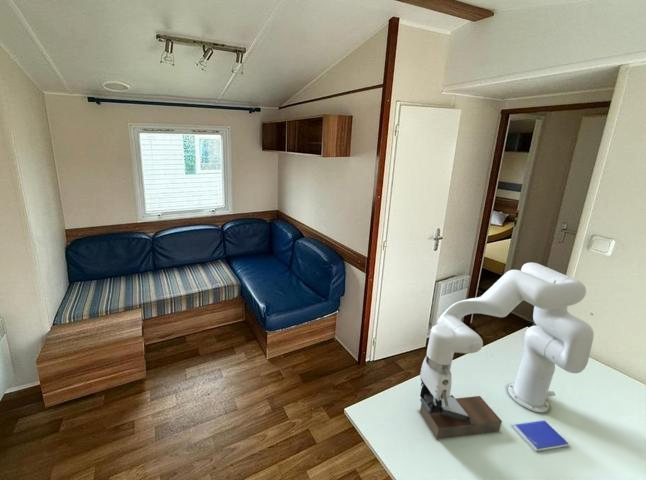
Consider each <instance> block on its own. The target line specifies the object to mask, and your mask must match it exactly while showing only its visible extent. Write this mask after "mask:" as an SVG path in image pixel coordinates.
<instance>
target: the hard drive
mask: <svg viewBox="0 0 646 480" xmlns="http://www.w3.org/2000/svg"><path fill="white" fill-rule="evenodd" d="M513 428H514V430H515V431H517V433H518V434H519V435H520V436H521V437H522V438H523V439H524V440H525V441H526V442H527V444H528V445H529V446H530V447H531V448H532V449H533V450H534V451H535V452H540V451H546V450H551V449H558V448H563V447H568V446H569V442H568V441H567V440H566V439H565V438H563V437H562V435H561V434H560V433H558V432H557V431H556V430H555V428H554V427H552V426H551V425H550V424H549V423H548V422H547V421H546V420H539V421H538V420H537V421H532V422H525V423H516V424H514V426H513Z"/></svg>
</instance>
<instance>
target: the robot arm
mask: <svg viewBox="0 0 646 480" xmlns="http://www.w3.org/2000/svg"><path fill="white" fill-rule="evenodd" d="M586 294H587V288H586V286H585V284H584V283H583V282H582V281H580V280H578V279H576V278H574V277H572V276H569V275H567V274H564V273H561V272H560V271H557V270H555V269H552V268H550V267H547V266H545V265H543V264H540V263H538V262H526V263H524V264H523V265H522V266H521V268H520V269H509V270H508V271H506V272H505V273H504V274H503V275H502V276H501V277H499V279H497V280H496V281H495V282H494V283H493V284H492V285H491V286H490V287H489V288H488V289H487V290H486V291H485V292H484V293H483V294H482V295H479V296H477V297H472V298H471V297H470V298H468V299H463V300H459V301H457V302H455V303H453V304H451V305H450V306H449V307H448V308H447V309H446V310H444V312H443V313H441V315H440V316H439V317H438V319H437V321H436V325H433V326H432V327H431V329H430V333H429V339H428V344H427V349H426V352H425V353H426V354H425V357H424V359H423V360H422V361H423V362H422V364H421V368H420V369H419V370H418V372H419V377H420V381H421V383H420V387H421V389H420V393H419V397H420V399H421V398H422V397H424V395H430V392H431V394H432V395H433V402H432V403H431V408H430V412H431V413H438V412H440V407H441V406H443V407H449V404H448V400H447V399H448V398H449V396H450V395H451V392H452V391H451V390H452V371H451V368H452V364H453V358H454V354H455V353H457V354H475V353H478V352H480V351H481V350H482V348H483V346H484V342H483V339H482V337H481V336H480V334H478V333H477V332H476V331H475V330H473V329H472V328H470V327H469V326H468V325H467V324H465V323H464V322H463V321H461V319H462V318H464V317H465V316H467V315H472V314H482V315H486V316H492V317H497V318H505V317H507V316H508V315H509V314H510V313H512V311H513V310H514V309H515V308H517V307H518V306H519V305H520V304H521V303H523V301H525V302H526V303H528V304H530V305H532V306H533V313H532V319H533V320H532V321H533V322H534V324H535V325H531V326H529V327H528V328H527V329H526V330H525V333H524V338H523V340H524V341H523V342H524V346H523V353H522V357H521V360H520V364H519V368H518V372H517V373H516V378H515V381H514V382H512V383H510V384H509V385H508V388H507V391H508V394H509V396H510V397H511V398H512V399H513V401H515V402H516V403H517V404H519V405H521V407H523V408H525V409H526V410H530V411H532V412H535V413H546V412H548V411H549V409H550V403H549V401H548V398H549V397H555V396H556V393H555V391H554V390H549V389H550V387H551V383H552V380H553V377H554V375H555V371H556V366H557V367H559V368H560V369H562V370H564V371H565V372H567V373H570V374H579V373H580V374H581V373H582V372H583V371H584V370H586V367H587V365H588V363H589V361H590V360H589V359H590V356H591V350H592V347H593V342H594V337H595V334H594V330H593V328H592V325H590V324H589V323H588V322H586V321H585V320H583V319H581V318H579V317H578V316H575V315H573V314H571V313H570V312H569V311H568V307H571V306H573V305H574V306H575V305H576V304H578V303H580V302H582V300H584V298H585V296H586ZM437 399H439V401H437Z"/></svg>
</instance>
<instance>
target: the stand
mask: <svg viewBox="0 0 646 480" xmlns="http://www.w3.org/2000/svg"><path fill="white" fill-rule="evenodd" d="M450 396H451V397H454V395H453V394H450ZM454 398H455V399H456V400H457V401H458V403H459V404H460V405H461V406H462V408H463V409H464V410H465V412H466V413H467V414H468V415H469V417H470V419H469V421H465V420H462V419H458V418H454V417H451V416H447V415H443V414H441V413H440V412H438V413H432V414H429V413H428V412H427V410H426V409H425V407H424V405H423V404H422V402H420V409H419V414H420V415H421V417H422V418H423V420H424V422H425V423H426V425H427V426H428V428H429V429H430V431H431V433H432V435H433V436H434V438H435V439H436V440H442V439H450V438H459V437H468V436H476V435H483V434H484V435H485V434H493V433H499V432H500V430H501V426H502V423H503V421H502V419H501V418H500V417H499V416H498V414H497V413H496V412H494V410H493V409H492V408H491V407H490V406H489V404H488V403H487V402H486V401H485V400H484V398H483V397H482V396H481V395H475V396H474V395H473V396H466V397H457V398H456V397H454ZM430 407H431V405H430Z"/></svg>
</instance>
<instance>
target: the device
mask: <svg viewBox="0 0 646 480" xmlns="http://www.w3.org/2000/svg"><path fill="white" fill-rule="evenodd" d="M455 398H456V397H455V396H453V397H451V396H449V398H448V399H447V400H448V404H449V407H443V406H441V407H440V413H441V414H443V415H447V416H451V417H454V418H458V419H462V420H465V421H469V419H470V417H469V415H468V414H467V413H466V412H465V410H464V409H463V408H462V406H461V405H460V404H459V403H458V401H457V400H456V399H455ZM419 400H420V403H422V404H423V405H424V407H425V409H426V410H427V412H428V413H429V414H432V413H431V412H430V408H431V407H430V405H431V403H432V402H433V395H432V394H431V392H430V395H424V397H422V398H421V397H420V399H419ZM437 401H439V399H437Z"/></svg>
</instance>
